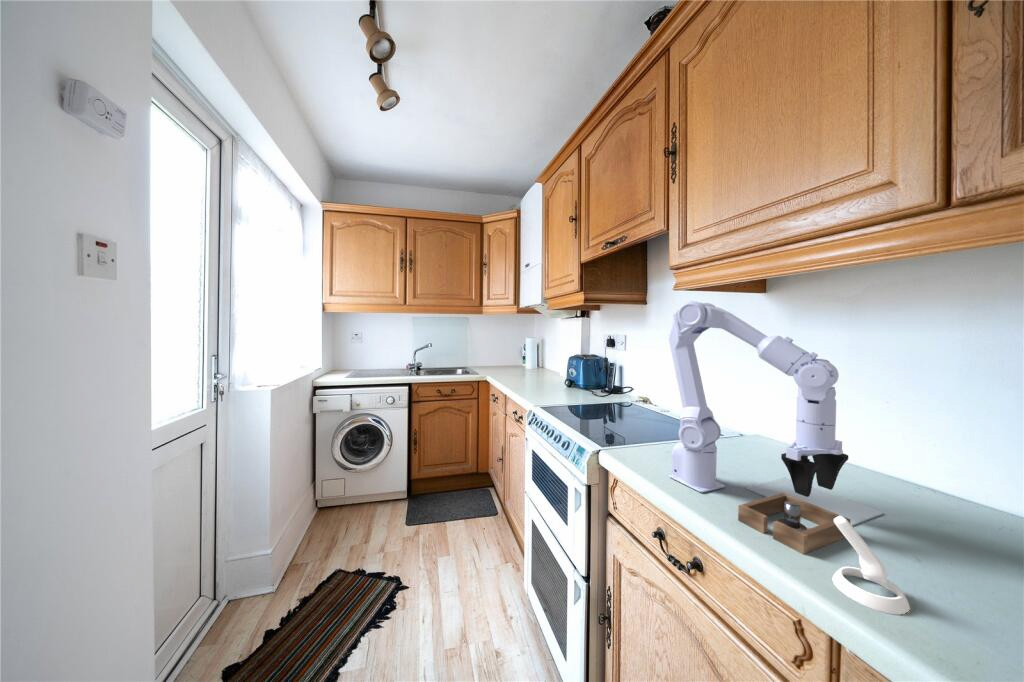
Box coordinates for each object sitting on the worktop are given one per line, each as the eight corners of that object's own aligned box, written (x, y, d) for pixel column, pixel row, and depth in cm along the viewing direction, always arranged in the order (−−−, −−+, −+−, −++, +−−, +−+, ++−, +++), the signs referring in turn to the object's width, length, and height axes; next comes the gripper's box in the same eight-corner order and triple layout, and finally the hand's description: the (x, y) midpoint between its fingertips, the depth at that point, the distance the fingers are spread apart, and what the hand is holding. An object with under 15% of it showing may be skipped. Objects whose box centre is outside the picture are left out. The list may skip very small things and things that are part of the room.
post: (771, 523, 66) (772, 500, 66) (786, 519, 68) (786, 496, 67) (798, 536, 62) (799, 512, 62) (812, 531, 64) (813, 507, 63)
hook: (786, 525, 56) (829, 506, 55) (845, 605, 52) (893, 587, 50) (805, 541, 49) (855, 520, 48) (875, 634, 45) (931, 614, 44)
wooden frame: (738, 520, 67) (738, 505, 67) (782, 506, 72) (783, 492, 72) (803, 554, 57) (803, 536, 57) (849, 535, 62) (850, 519, 62)
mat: (745, 488, 81) (745, 487, 81) (785, 478, 86) (785, 477, 86) (842, 529, 64) (842, 528, 64) (884, 514, 70) (884, 512, 70)
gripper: (818, 431, 60) (816, 507, 60) (862, 423, 66) (861, 493, 66) (774, 421, 67) (773, 490, 67) (818, 414, 72) (817, 478, 72)
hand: (813, 490), depth 67 cm, fingers open, 7 cm apart
